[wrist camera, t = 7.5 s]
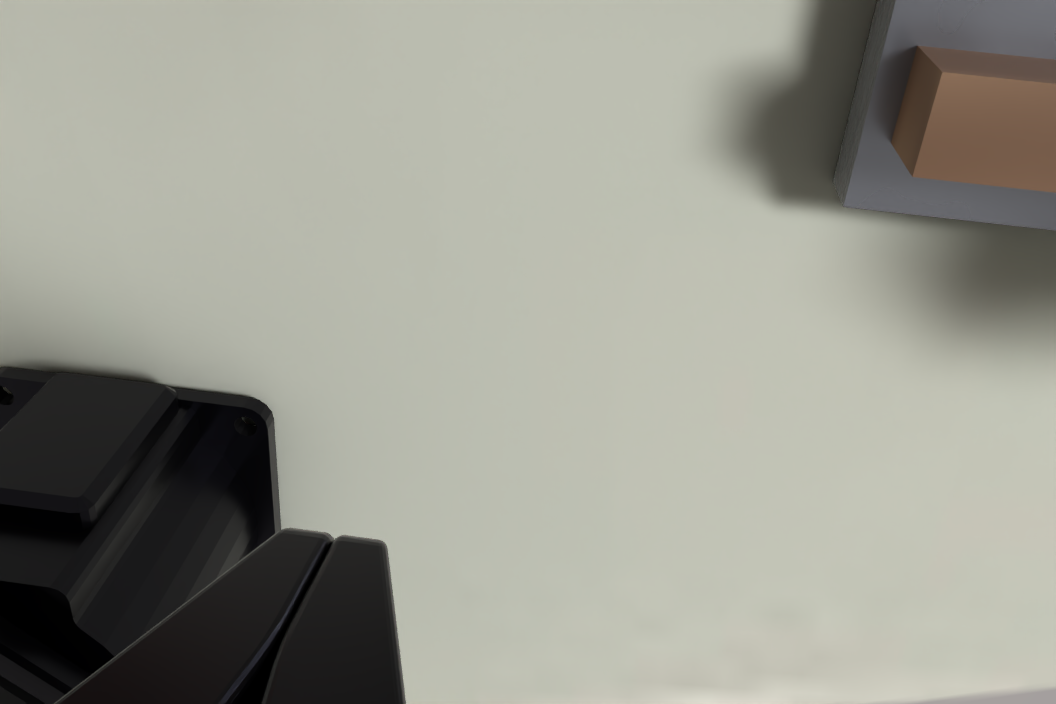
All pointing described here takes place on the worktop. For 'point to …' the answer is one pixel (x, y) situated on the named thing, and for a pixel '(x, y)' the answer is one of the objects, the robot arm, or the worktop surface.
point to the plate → (867, 153)
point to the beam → (979, 119)
